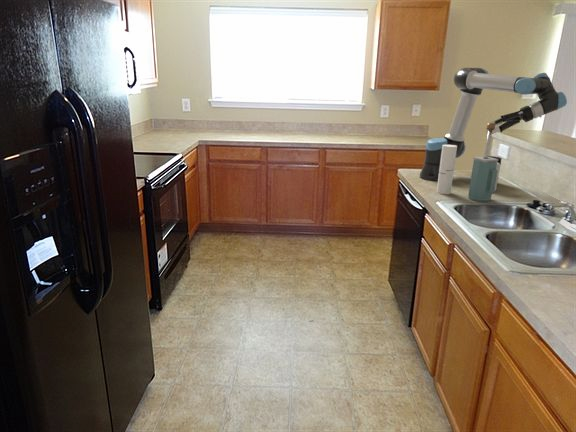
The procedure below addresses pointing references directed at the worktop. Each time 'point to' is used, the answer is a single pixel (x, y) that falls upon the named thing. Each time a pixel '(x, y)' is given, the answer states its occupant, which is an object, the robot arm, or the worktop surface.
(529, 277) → the worktop surface
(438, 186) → the cylindrical container
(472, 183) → the press pot
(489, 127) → the plunger
